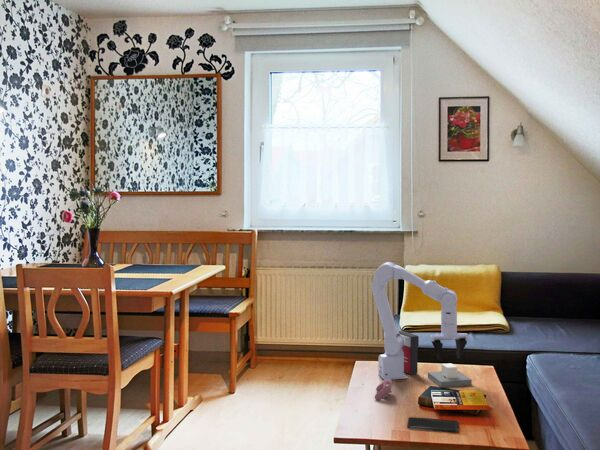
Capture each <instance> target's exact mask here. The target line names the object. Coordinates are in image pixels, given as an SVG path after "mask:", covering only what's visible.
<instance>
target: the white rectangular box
mask: <svg viewBox="0 0 600 450" xmlns="http://www.w3.org/2000/svg"><path fill="white" fill-rule="evenodd" d="M457 370H458V366H456V365H455V364H453V363H450V362H449V363H441V371H442V375H443V376H445V378H457Z"/></svg>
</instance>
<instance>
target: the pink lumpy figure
mask: <svg viewBox="0 0 600 450" xmlns="http://www.w3.org/2000/svg"><path fill="white" fill-rule="evenodd" d="M392 384H393V379H392V380H390V379H386V380H384V379H383V382H381V383H380V384H379V385H377V387H376V388H375V391H376V392H377V393H376V394H375V395H374V399H375V400H376V401H381V400H384V399H386V398H387V396H389V395H390V394H392V393H393V390H392V388H393V387H392Z"/></svg>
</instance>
